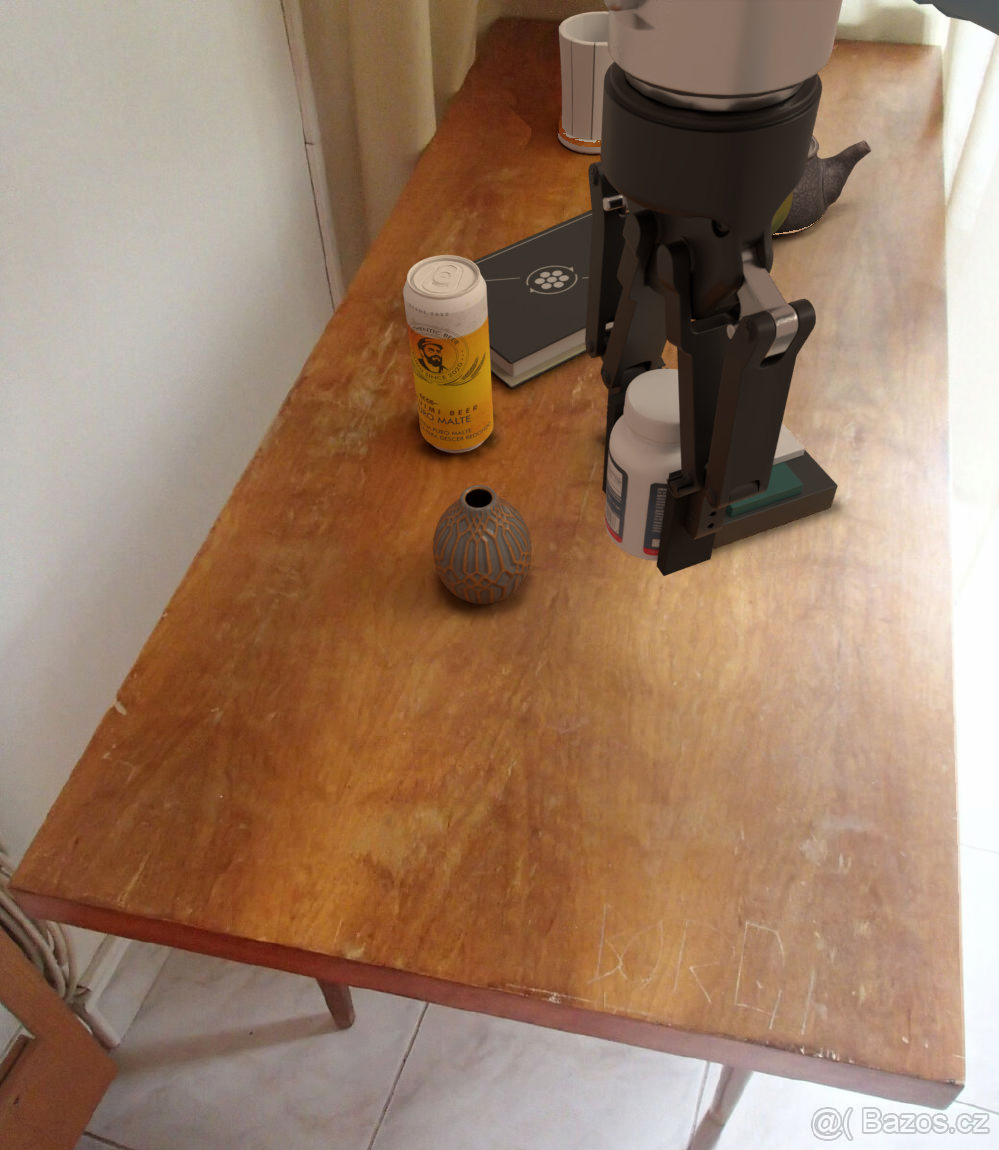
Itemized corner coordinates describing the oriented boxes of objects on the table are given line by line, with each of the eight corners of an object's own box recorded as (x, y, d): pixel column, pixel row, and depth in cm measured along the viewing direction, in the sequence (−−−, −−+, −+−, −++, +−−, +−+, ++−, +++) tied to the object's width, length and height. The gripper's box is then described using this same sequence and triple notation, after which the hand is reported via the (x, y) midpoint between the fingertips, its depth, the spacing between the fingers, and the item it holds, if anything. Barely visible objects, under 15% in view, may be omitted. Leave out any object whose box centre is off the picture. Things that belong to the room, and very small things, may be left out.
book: (593, 232, 102) (595, 205, 99) (694, 298, 94) (698, 270, 91) (418, 311, 94) (414, 284, 91) (511, 390, 86) (510, 362, 84)
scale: (831, 507, 76) (841, 475, 73) (693, 556, 73) (698, 524, 70) (734, 399, 84) (740, 367, 81) (608, 439, 81) (610, 407, 79)
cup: (537, 124, 117) (537, 16, 108) (605, 107, 120) (610, -1, 110) (579, 163, 111) (582, 51, 102) (649, 144, 113) (659, 33, 104)
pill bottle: (721, 514, 52) (748, 382, 46) (677, 579, 50) (699, 449, 43) (632, 478, 54) (645, 346, 48) (585, 538, 52) (592, 408, 45)
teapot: (861, 248, 98) (887, 151, 91) (704, 243, 100) (717, 147, 92) (842, 155, 110) (864, 62, 103) (702, 152, 112) (713, 60, 104)
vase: (533, 618, 70) (532, 534, 63) (435, 620, 70) (424, 537, 63) (530, 545, 74) (529, 459, 67) (438, 547, 74) (428, 462, 68)
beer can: (410, 449, 81) (388, 292, 70) (436, 403, 85) (419, 246, 74) (479, 463, 80) (469, 305, 69) (503, 416, 84) (496, 258, 72)
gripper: (508, -8, 39) (518, 436, 56) (769, 217, 28) (679, 680, 45) (676, -42, 40) (634, 400, 58) (985, 157, 29) (817, 626, 47)
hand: (654, 522), depth 52 cm, fingers closed on pill bottle, 5 cm apart
